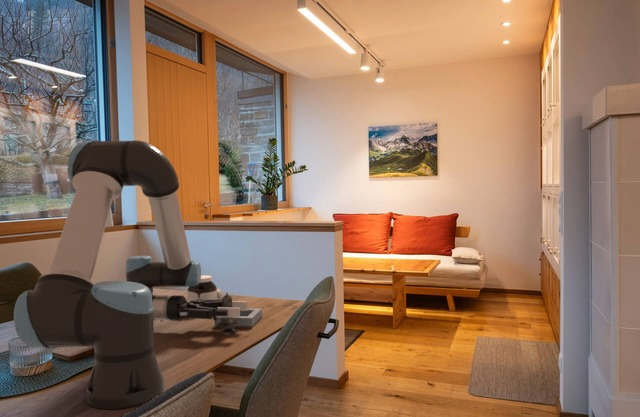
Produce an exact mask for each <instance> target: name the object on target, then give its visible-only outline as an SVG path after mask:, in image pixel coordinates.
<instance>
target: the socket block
mask: <svg viewBox="0 0 640 417" xmlns="http://www.w3.org/2000/svg"><path fill="white" fill-rule="evenodd" d="M221 318H222V317H218V316H217V320H214V328H221V327H220V326H219V323H218V320H219V319H221ZM234 318H235V317H234ZM262 318H263V308H253V307H252V308H250V307H248V310H247V311H240V317H239V318H236V319H238V321H237V324H236V326H235V327H234V328H240V329H241V328H244V329H246V328H247V329H253V328H254V327H255V326H256V325H257V324H258V322H259V321H260V320H262Z"/></svg>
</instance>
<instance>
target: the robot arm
mask: <svg viewBox="0 0 640 417" xmlns="http://www.w3.org/2000/svg"><path fill="white" fill-rule="evenodd" d="M67 165H68V167H67V175H68V176H67V177H68V178H69V181H70V182H71V184H72V187H73V188H74V189H75V192H74V195H73V198H72V201H71V205H70V207H69V210H68V214H67V216H66V220H65V223H64V225H63V229H62V231H61V235H60V237H59V241H58V243H57V246H56V250H55V253H54V256H53V259H52V262H51V265H50V267H49V271H48V272H47V273H44V274H42V275H40V276H39V277H38V279H37V281H36V284H35V287H34V289H30V290H25V291H23V292H22V293H21V294H20V295H19V296H18V297H17V299H16V302H15V305H14V309H13V324H14V325H13V326H14V328H15V333H16V334H17V337H18V339H19V340H20V341H21V342H22V344H24V345H25V346H28V347H30V348H44V349H51V348H69V347H71V348H73V347H75V348H77V347H94V349H93V350H94V352H93V353H94V362H93V366H92V370H91V372H90V376H89V380H88V383H87V387H86V403H87V404H88V405H89V406H91V407H93V408H97V409H103V410H118V409H126V408H132V407H135V406H139V405H143V404H145V403H148V402H150V401H149V400H151V399H152V398H154V397H155V396H157V395H159V394H160V395H161V394H162V393H164V389H165V383H164V382H165V380H164V376H163V373H162V370H161V368H160V365H159V363H158V360H157V357H156V353H155V338H154V336H155V332H154V321H160V322H161V323H163V322H164V321H171V322H174V321H176V322H180V321H183V320H184V319H202V320H212V321H215V320H217V316H218V317H235V318H239V317H240V311H247V310H248V308H249V306H248V301H244V300H243V301H242V300H241V301H239V300H238V301H237V300H232V307H234V308H229V307H223V306H222V299H217V300H201V299H197V300H196V301H195V300H192V301H190V302H187V299H186V297H185V296H184V295H175V294H173V295H170V294H159V295H158V294H155V295H154V294H153V293H154V288H164V287H165V288H178V287H180V288H181V287H184V288H188V287H189V286H196V285H198V284H199V282H200V279H201V276H202V267H201V263H200V262H199V261H194V260H191V254H190V250H189V245H188V244H189V243H188V238H187V236H186V235H187V234H186V231H185V230H186V229H185V226H184V221H183V215H182V211H181V207H180V202H179V201H180V200H179V196H178V191H179V189H180V182H179V177H178V174H177V172H176V169H175V168H174V166H173V163H171V161H170V159H169V158H168V157H167V156H166V155H165V154H164V153H163V152H162V150H160V149H158V148H157V147H156V146H154V145H153V144H151V143H149V142H146V141H144V140H143V141H142V140H137V139H136V140H103V141H102V140H90V141H83V142H80V143H77V144H76V145H75V146H74V147H73V148H72V149H71V151H70V153H69V155H68V159H67ZM129 186H130V187H135V186H139V187H140V188H141V191H142V194H143V195H144V196H145V197H146V198H148V202H149V206H150V209H151V214H152V217H153V222H154V226H155V228H156V234H157V237H158V241H159V244H160V248H161V253H162V257H163V260H164V261H156V262H155V261H153V258H152V256H150V255H134V256H130V257H128V258H127V259H126V260H125V261H126V262H125V266H126V267H125V275H126V276H125V278H126V280H114V281H112V280H111V281H110V280H108V281H107V280H106V281H100V282H97V283H95V284H94V282H93V281H92V276H93V273H94V270H95V266H96V262H97V259H98V256H99V255H98V254H99V253H100V252H99V251H100V247H101V244H102V240H103V237H104V234H105V230H106V227H107V226H106V225H107V222H108V219H109V215H110V212H111V208H112V204H113V200H117V199H118V198H119V197H120V196H121V195H122V192H123V189H124V187H129ZM160 395H159V396H160ZM154 399H155V398H154ZM151 401H152V400H151Z"/></svg>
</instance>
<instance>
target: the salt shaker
mask: <svg viewBox="0 0 640 417" xmlns="http://www.w3.org/2000/svg"><path fill="white" fill-rule="evenodd" d="M224 295H225V296H224V297H223V298H222V306H223V307H229V308H234V307H232V301H233V296H232V295H229V293H228V292H226V293H225V294H224ZM237 321H238V319H236V318H234V317H222V318H221V319H219V320H218V323H219V326H220V327H219V328H220V329H221V330H220V331H219V332H218V334H219V335H223V336H229V335H234V334H237V333H238V331H237V329H235V328H236V327H235V326H236V324H237Z"/></svg>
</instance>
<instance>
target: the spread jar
mask: <svg viewBox="0 0 640 417" xmlns="http://www.w3.org/2000/svg"><path fill="white" fill-rule="evenodd" d="M212 278H213V277H212V276H211V275H206V274H205V275H201V279H200V282H199V284H198V285H196V286H188V287H187V292H186V298H187V299H186V301H187V302H190V301H192V300H195V301H196V300H197V299H201V300H217V299H222V298H223V297H224V296H225V295H226V294H224V292H223V291H222V290H221V289H220V288H217V285H216V284H215V283H214V282H213V281H212V280H213V279H212Z"/></svg>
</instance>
